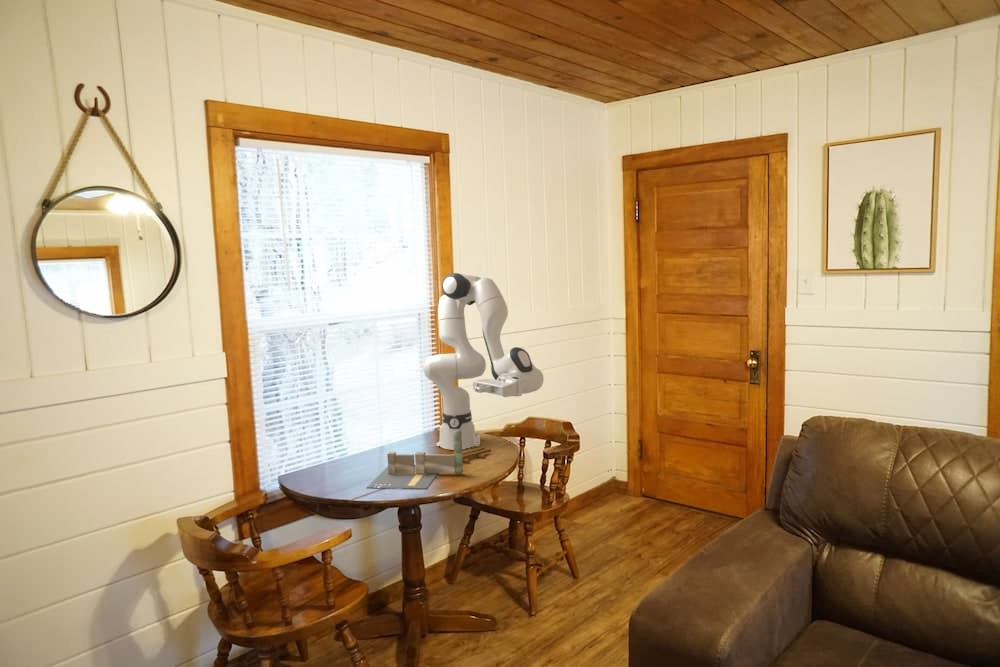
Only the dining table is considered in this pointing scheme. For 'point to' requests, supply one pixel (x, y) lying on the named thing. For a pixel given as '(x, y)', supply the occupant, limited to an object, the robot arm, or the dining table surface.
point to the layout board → (403, 480)
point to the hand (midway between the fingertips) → (477, 390)
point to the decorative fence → (474, 453)
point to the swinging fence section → (442, 459)
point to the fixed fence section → (400, 463)
